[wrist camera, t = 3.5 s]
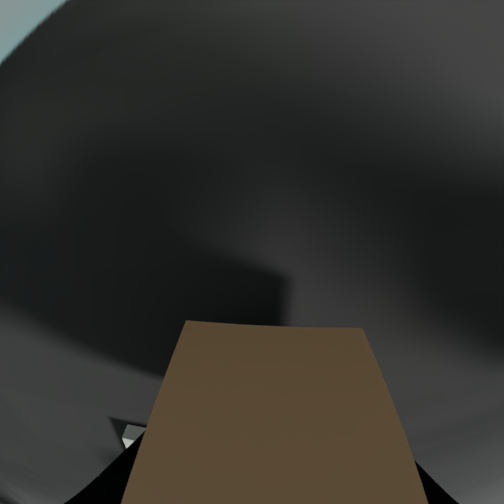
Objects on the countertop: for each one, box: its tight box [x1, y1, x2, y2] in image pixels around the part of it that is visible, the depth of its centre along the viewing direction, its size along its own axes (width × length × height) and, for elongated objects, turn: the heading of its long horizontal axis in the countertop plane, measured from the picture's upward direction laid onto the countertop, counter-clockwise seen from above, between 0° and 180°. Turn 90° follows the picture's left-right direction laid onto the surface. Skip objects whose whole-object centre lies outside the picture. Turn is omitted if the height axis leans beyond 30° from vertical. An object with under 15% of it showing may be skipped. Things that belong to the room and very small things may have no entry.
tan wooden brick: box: [121, 320, 428, 504], centre depth 7 cm, size 5×5×7 cm
